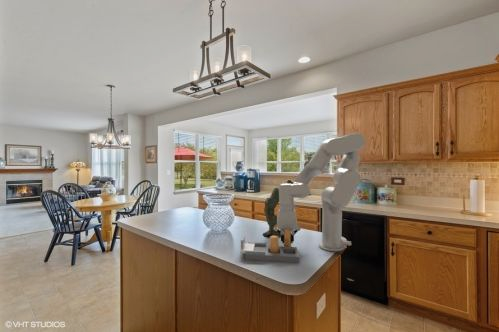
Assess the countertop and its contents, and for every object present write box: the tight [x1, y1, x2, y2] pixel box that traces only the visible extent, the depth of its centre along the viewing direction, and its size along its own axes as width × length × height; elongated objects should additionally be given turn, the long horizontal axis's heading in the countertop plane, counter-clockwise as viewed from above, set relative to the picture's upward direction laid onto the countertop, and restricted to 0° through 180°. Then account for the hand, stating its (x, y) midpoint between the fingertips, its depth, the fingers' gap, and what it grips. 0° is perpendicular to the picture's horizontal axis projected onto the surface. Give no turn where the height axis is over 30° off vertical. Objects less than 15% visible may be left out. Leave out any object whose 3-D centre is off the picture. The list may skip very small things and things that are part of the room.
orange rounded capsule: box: [269, 236, 280, 253], centre depth 110 cm, size 4×4×9 cm
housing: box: [244, 241, 300, 263], centre depth 110 cm, size 24×12×4 cm, turn 85°
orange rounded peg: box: [282, 230, 292, 247], centre depth 121 cm, size 4×4×9 cm
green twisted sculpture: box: [262, 187, 281, 238], centre depth 141 cm, size 14×7×30 cm, turn 106°
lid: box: [239, 235, 255, 254], centre depth 111 cm, size 6×10×5 cm, turn 175°
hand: (287, 242), depth 121 cm, fingers closed on orange rounded peg, 4 cm apart
